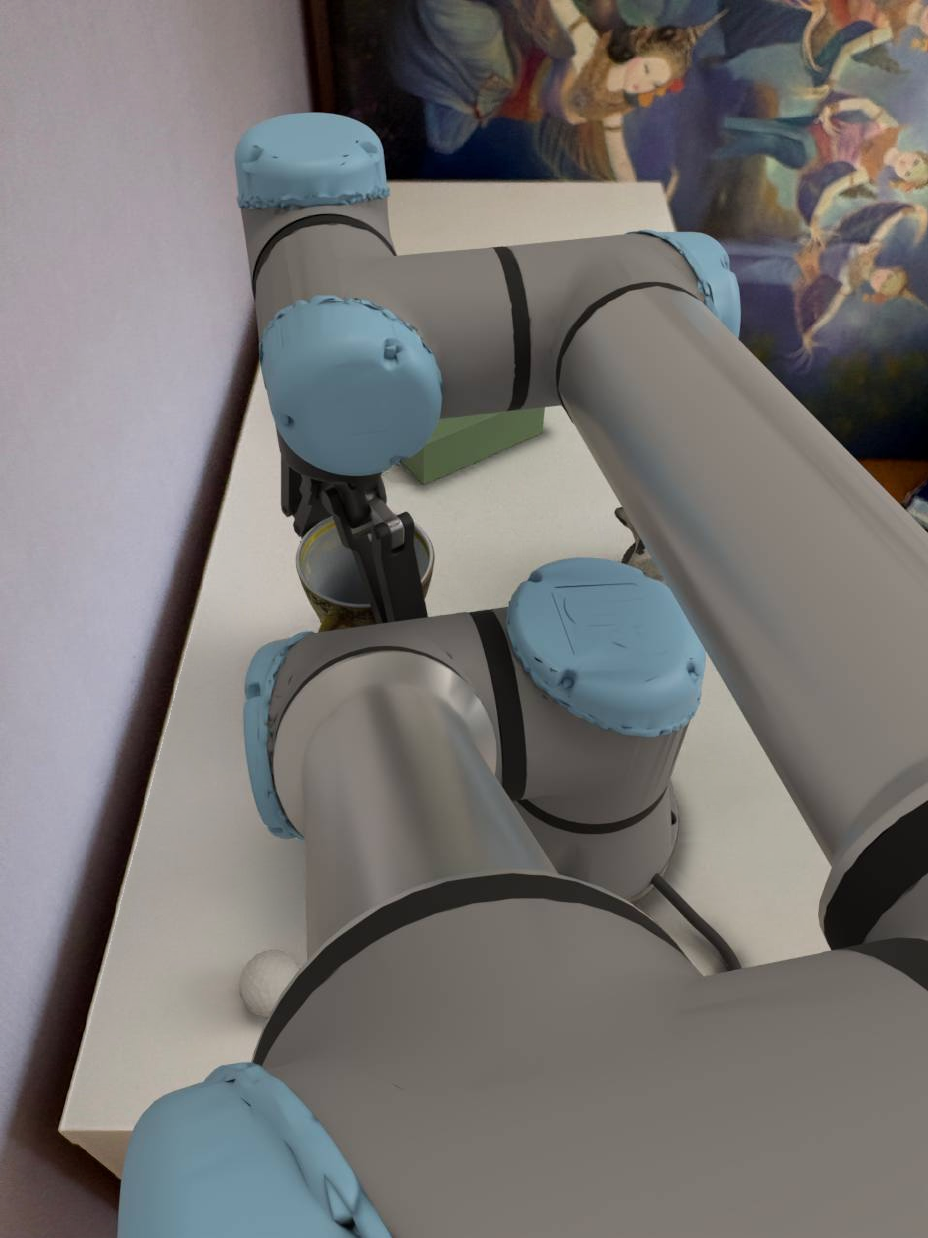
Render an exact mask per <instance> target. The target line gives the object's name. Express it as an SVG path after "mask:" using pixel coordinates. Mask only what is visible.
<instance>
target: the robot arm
mask: <svg viewBox="0 0 928 1238" xmlns="http://www.w3.org/2000/svg"><path fill="white" fill-rule="evenodd" d="M233 158H234V168H235V178H236V185H237V196H236V197H235V198H236V202H237V207H238V208H239V209H240V214H241V215H240V216H241V219H242V227H243V232H244V240H245V245H246V254H247V261H248V269H249V277H250V285H251V291H252V296H253V300H254V304H255V315H256V324H257V334H258V357H259V358H258V359H259V360H258V361H259V366H260V371H261V375H262V380H263V385H264V388H265V390H266V394H267V400H268V404H269V409H270V412H271V415H272V418H273V420H274V424H275V431H276V436H277V437H276V438H277V443H278V444H277V445H278V449H279V453H280V508H281V512H282V514H283V515H284V516H285V518H290V517H293V523H292V527H293V531H294V533H295V534H296V535H297V536H298V538H301V540H302V539H303V537H304V536H305V535H306V534H307V532H308V531H309V530H310V529H311V528H312V527H314V526H315V525H316V524H318V523H319V522H321V521H323V520H325V519H327V518H330V517H332V516H333V519H334V522H335V525H336V528H337V531H338V534H339V537H340V540H341V543H342V545H343V546H344V547H346V548H348V549H351V550H352V553H353V556H354V559H355V561H356V564H357V567H358V570H359V573H360V576H361V579H362V582H363V585H364V588H365V591H366V594H367V597H368V600H369V603H370V605H371V608H372V611H373V614H374V617H375V620H376V623H377V624H375V625H368V626H361V627H354V628H347V629H340V630H332V631H325V632H318V631H317V632H314V631H312V630H309V631H302V632H298V633H296V634H294V635H293V636H291V637H287V638H283V639H282V638H281V639H277V640H272V641H270V642H268V643H266V644H263V645H262V646H261V647H260V648H258V650H256V652H254V655H253V656H252V657H251V659H250V662H249V664H248V667H247V671H246V674H245V681H244V696H245V700H246V701H245V702H244V703H243V713H242V714H243V715H242V716H243V717H242V718H243V721H242V722H243V738H244V751H245V760H246V766H247V771H248V772H247V773H248V777H249V782H250V787H251V792H252V796H253V800H254V804H255V806H256V810H257V813H258V814H259V817H260V819H261V821H262V823H263V824H264V825H265V826H266V827H267V830H268V831H269V832H270V834H272V835H273V836H275V837H277V838H279V839H282V840H293V839H297V840H299V841H304V876H305V877H304V878H305V879H304V880H305V930H306V931H305V932H306V933H305V934H306V937H305V938H306V961H304V963H303V964H302V965H301V967H300V969H299V971H298V972H297V973H296V975H295V976H294V977H293V979H292V980H291V981H290V983H289V984H288V985H287V987H286V988H285V989H284V991H283V992H282V993H281V995H280V997H279V998H278V1000H277V1002H276V1004H275V1006H274V1008H273V1009H272V1011H271V1013H270V1015H269V1017H266V1020H265V1022H264V1024H263V1026H262V1030H261V1032H260V1035H259V1038H258V1039H257V1043H256V1045H255V1047H254V1050H253V1053H252V1056H251V1061H249V1062H248V1061H246V1062H244V1061H243V1062H235V1063H227V1064H221V1065H220V1066H218V1067H216V1068H214V1069H213V1070H212V1071H211V1072H210V1073H209V1074H208V1075H207V1076H206V1077H205V1078H204V1080H203V1081H201V1082H197V1083H194V1084H191V1085H189V1086H185V1087H181V1088H179V1089H176V1090H173V1091H171V1092H168V1093H165V1094H163V1095H161V1096H160V1097H159V1098H157V1099H156V1100H154V1101H152V1103H151V1104H150V1105H149V1106H148V1107H147V1108H146V1109H145V1110H144V1111H143V1112H142V1113H141V1115H140V1116H139V1118H138V1120H137V1122H136V1123H135V1125H134V1127H133V1129H132V1131H131V1134H130V1137H129V1140H128V1142H127V1147H126V1152H125V1156H124V1161H123V1166H122V1167H123V1168H122V1174H121V1180H120V1189H119V1190H120V1191H119V1200H118V1202H119V1203H118V1216H117V1217H118V1218H117V1237H116V1238H928V531H926V530H925V528H924V527H923V526H921V524H920V523H919V522H918V521H917V520H916V519H915V518H914V517H913V516H912V515H911V514H910V513H909V512H908V511H907V510H906V509H905V508H904V507H903V506H902V505H901V504H900V503H899V502H898V501H897V499H895V498H894V497H893V495H891V493H889V492H888V491H887V489H886V488H885V487H884V486H883V485H881V483H880V482H878V481H877V479H876V478H875V477H873V475H872V474H871V473H870V472H869V471H868V470H867V469H866V468H865V467H864V465H862V464H861V463H860V462H859V460H857V459H856V458H855V457H854V456H853V454H851V453H850V451H848V450H847V449H846V447H844V446H843V444H842V443H841V442H840V441H839V440H837V438H836V437H835V436H834V435H832V433H831V432H830V431H829V430H828V429H827V428H826V427H825V426H824V425H823V424H822V423H821V422H820V421H819V420H818V419H817V418H816V417H815V416H814V415H813V414H812V413H811V411H809V410H808V409H807V408H806V407H805V405H803V404H802V403H801V402H800V401H799V399H798V398H796V396H794V395H793V393H792V392H791V391H789V389H788V388H786V386H785V385H784V384H783V383H782V382H781V381H780V380H779V379H778V378H777V377H776V376H775V375H774V374H773V373H772V372H771V371H770V370H769V369H768V368H767V367H766V366H765V365H764V364H763V363H762V362H761V361H760V360H759V358H758V357H756V356H755V354H753V352H752V351H750V349H749V348H748V347H746V345H745V344H744V343H743V342H742V341H741V340H739V339H740V338H739V337H740V330H741V321H742V320H741V317H742V310H741V309H742V308H741V296H740V295H741V294H740V287H739V284H738V278H737V276H736V273H734V272H733V271H731V269H730V257H729V255H728V253H727V251H726V249H725V248H724V247H723V245H721V243H720V242H719V241H718V240H716V239H715V238H714V237H712V236H710V235H709V234H707V233H703V232H697V231H656V230H652V229H640V230H633V231H628V232H625V233H624V234H613V235H603V236H596V237H595V236H593V237H584V238H575V239H563V240H554V241H544V242H534V243H523V244H515V245H514V244H513V245H505V246H504V245H503V246H502V245H501V246H491V247H482V248H471V249H457V250H444V251H434V252H421V253H410V254H401V255H400V254H399V255H398V254H397V251H396V248H395V244H394V240H393V238H392V235H391V230H390V221H389V206H388V205H389V204H388V203H389V202H388V200H389V199H388V197H391V188H390V186H389V185H388V183H387V173H386V164H385V163H386V162H385V154H384V148H383V144H382V142H381V139H380V138H379V136H378V135H377V134H376V132H375V131H373V130H372V128H370V126H368V125H366V124H365V123H363V122H360V121H359V120H357V119H354V118H351V117H349V116H346V115H341V114H336V113H327V112H299V113H288V114H283V115H279V116H276V117H275V116H274V117H272V118H267V119H265V120H263V121H260V122H259V123H257V124H254V125H253V126H252V127H250V128H249V129H248V130H246V131H245V132H244V133H243V134H242V135H241V137H240V138H239V140H238V141H237V143H236V146H235V150H234V157H233ZM560 406H561V407H562V409H563V410H564V411H565V413H566V415H567V417H568V418H569V420H570V422H571V423H572V424H573V425H574V427H575V428H576V431H577V432H578V435H580V438H581V439H582V441H583V442H584V444H585V446H586V448H587V449H588V451H589V453H590V454H591V456H592V458H593V459H594V461H595V463H596V465H597V466H598V468H599V470H600V471H601V473H602V474H603V477H604V478H605V480H606V482H607V484H608V485H609V487H610V489H611V491H612V492H613V494H614V496H615V498H616V499H617V501H618V502H619V504H620V507H622V508H623V509H624V511H625V513H626V514H627V516H628V518H629V520H630V521H631V523H632V525H633V526H634V528H635V530H636V532H637V533H638V535H639V537H640V539H641V540H642V542H643V544H644V545H645V547H646V549H647V551H648V552H649V554H650V556H651V557H652V559H653V561H654V563H655V564H656V566H657V568H658V569H659V571H660V573H661V575H662V576H663V578H664V580H665V582H666V583H667V585H668V587H669V588H668V587H667V586H666V585H665V584H663V583H662V582H661V581H657V580H655V579H651V578H649V577H647V576H646V575H644V574H643V572H642V571H641V570H639V569H637V568H634V567H632V566H629V565H626V564H623V563H622V562H620V561H616V560H612V559H606V558H600V557H585V556H584V557H583V556H582V557H579V556H578V557H567V558H561V559H557V560H554V561H551V562H548V563H545V564H543V565H542V566H539V567H538V568H536V569H535V570H533V571H532V572H531V573H530V574H529V577H528V578H527V580H524V581H522V582H520V584H519V585H518V586H517V588H516V589H515V590H514V591H513V593H512V594H511V599H510V600H509V601H508V602H507V604H508V606H503V607H496V608H489V609H482V610H476V611H469V612H467V611H462V612H455V613H448V614H447V613H446V614H441V615H434V616H429V615H428V609H427V604H426V597H425V598H424V593H423V588H422V583H421V578H420V573H419V568H418V563H417V557H416V552H415V547H414V522H415V521H414V518H413V516H412V515H411V514H410V513H409V511H403V512H401V513H398V514H399V515H395V514H394V513H395V512H394V511H393V510H392V509H390V507H389V506H388V505H387V502H388V496H387V490H386V486H385V483H384V480H383V477H382V475H383V473H384V472H387V471H389V470H390V469H391V468H392V467H393V466H395V465H396V464H399V463H400V462H401V461H402V460H404V459H405V458H411V457H412V456H414V455H415V454H416V453H418V452H419V451H420V450H421V449H422V448H423V447H424V446H425V444H426V443H427V442H428V441H429V439H430V438H431V436H432V435H433V433H434V431H435V429H436V427H437V424H438V421H439V419H446V418H455V417H463V416H472V415H480V414H489V413H498V412H505V411H513V410H524V409H533V408H543V407H545V408H551V407H552V408H553V407H560ZM393 512H394V513H393ZM372 520H373V522H374V525H373V526H370V527H368V528H366V529H364V530H361V531H359V532H357V533H355V534H352V531H351V529H355V528H358V527H360V526H362V525H365V524H367V523H369V522H371V521H372ZM301 540H300V541H299V543H300V542H301ZM707 655H708V657H709V659H710V661H711V663H712V664H713V666H714V668H715V669H716V671H717V673H718V674H719V676H720V678H721V679H722V681H723V684H725V686H726V688H727V690H728V691H729V693H730V695H731V697H732V699H733V700H734V702H735V704H736V706H737V707H738V709H739V710H740V712H741V714H742V716H743V717H744V719H745V721H746V723H747V725H748V726H749V728H750V729H751V731H752V733H753V734H754V736H755V738H756V740H757V741H758V744H759V745H760V747H761V748H762V750H763V752H764V754H765V756H766V757H767V759H768V760H769V762H770V764H771V765H772V768H773V769H774V771H775V772H776V774H777V776H778V777H779V780H780V781H781V783H782V784H783V786H784V788H785V790H786V791H787V794H788V795H789V796H790V798H791V800H792V802H793V803H794V806H795V807H796V809H797V810H798V812H799V814H800V815H801V817H802V819H803V821H804V822H805V824H806V826H807V828H808V830H809V831H810V833H811V834H812V836H813V838H814V840H815V841H816V843H817V845H818V846H819V848H820V850H821V852H822V853H823V855H824V857H825V858H826V861H827V862H828V863H829V865H830V867H831V869H830V872H829V874H828V876H827V879H826V881H825V884H824V887H823V889H822V893H821V894H820V895H821V896H820V898H819V902H818V912H817V917H818V924H819V928H820V930H821V932H822V934H823V937H824V939H825V941H826V943H827V945H828V947H829V950H825V951H822V952H818V953H814V954H808V955H803V956H799V957H793V958H789V959H784V960H779V961H773V962H770V963H764V964H758V965H753V966H748V967H744V968H742V965H741V963H740V961H739V959H738V957H737V955H736V954H735V952H734V950H733V949H732V947H731V946H730V945H729V944H728V942H727V941H726V940H725V939H724V938H723V937H722V935H721V934H720V933H719V932H717V930H716V929H714V927H713V926H711V925H710V924H709V923H708V922H707V921H706V920H705V919H704V918H702V916H700V914H698V913H697V912H696V910H694V908H693V907H692V906H691V905H690V904H688V902H687V901H686V900H685V899H684V898H683V897H682V896H681V895H680V894H679V893H678V892H677V891H676V890H675V888H673V886H671V885H670V884H669V883H668V882H667V880H666V879H664V878H663V876H664V874H665V872H666V871H667V869H668V866H669V864H670V862H671V860H672V857H673V854H674V853H675V849H676V846H677V842H678V837H679V832H680V831H679V830H680V814H679V806H678V801H677V798H676V795H675V792H674V786H673V782H672V777H673V773H674V770H675V766H676V763H677V761H678V758H679V755H680V752H681V750H682V746H683V743H684V740H685V737H686V734H687V731H688V728H689V725H690V723H691V720H692V719H693V718H695V716H696V714H697V712H698V709H699V707H700V703H701V700H702V690H703V689H702V688H703V682H704V676H705V673H706V672H705V671H706V664H707ZM654 888H656V890H657V891H658V892H659V893H660V894H661V895H662V896H663V897H664V898H665V899H666V900H667V901H668V903H670V904H671V905H672V906H673V907H674V908H675V909H676V911H677V912H679V914H680V915H681V916H682V917H683V918H684V919H685V920H686V921H687V922H688V924H690V925H691V926H692V927H693V928H695V930H697V932H699V933H700V934H701V935H702V936H703V938H705V939H706V940H707V941H708V942H709V943H710V944H711V945H712V946H713V947H714V948H715V950H716V951H717V952H718V953H719V955H720V957H722V959H723V960H724V962H725V964H726V966H727V968H728V971H723V972H720V973H714V974H709V975H703V973H702V972H700V970H699V969H698V968H697V967H696V966H695V964H693V962H692V961H691V960H690V958H689V957H688V956H687V955H686V953H685V952H684V951H683V949H681V947H680V946H679V945H678V944H677V942H676V941H675V940H674V939H673V938H672V937H671V936H670V935H669V933H667V932H666V930H664V928H663V927H661V926H660V925H659V923H657V922H656V921H655V920H654V919H653V918H652V917H650V916H649V915H648V914H647V913H645V912H643V911H642V910H641V909H639V908H638V907H637V906H635V905H634V904H636V903H637V902H638V901H640V900H642V899H643V898H644V897H645V896H647V895H648V894H649V893H650V892H651V891H652V890H653V889H654Z"/></svg>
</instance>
